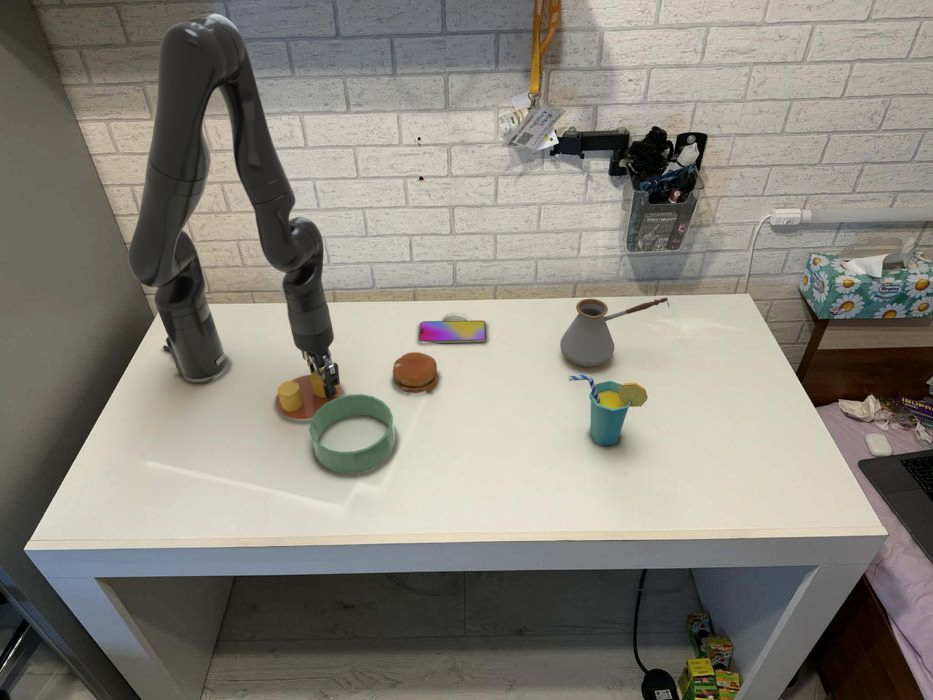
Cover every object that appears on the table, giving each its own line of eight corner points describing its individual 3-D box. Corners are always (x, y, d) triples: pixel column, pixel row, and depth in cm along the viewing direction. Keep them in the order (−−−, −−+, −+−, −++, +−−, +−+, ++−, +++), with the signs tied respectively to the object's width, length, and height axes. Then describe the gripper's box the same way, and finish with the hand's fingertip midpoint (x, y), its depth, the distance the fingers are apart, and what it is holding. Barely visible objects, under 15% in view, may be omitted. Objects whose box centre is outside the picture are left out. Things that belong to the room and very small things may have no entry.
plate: (264, 415, 130) (263, 412, 129) (295, 373, 139) (294, 370, 139) (324, 428, 127) (323, 424, 126) (351, 383, 136) (351, 380, 136)
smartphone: (486, 340, 145) (418, 341, 145) (486, 342, 146) (418, 343, 146) (485, 320, 151) (420, 321, 151) (485, 322, 151) (420, 323, 152)
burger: (444, 389, 134) (443, 372, 132) (400, 400, 132) (398, 383, 129) (430, 360, 142) (429, 343, 139) (388, 370, 140) (386, 353, 137)
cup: (562, 448, 122) (569, 389, 112) (562, 418, 127) (568, 359, 118) (639, 453, 120) (652, 394, 111) (635, 422, 126) (647, 364, 117)
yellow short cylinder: (309, 395, 132) (306, 380, 130) (319, 380, 136) (316, 366, 133) (330, 399, 131) (327, 384, 129) (340, 384, 135) (337, 369, 132)
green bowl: (301, 466, 119) (294, 444, 116) (335, 410, 130) (331, 388, 127) (377, 483, 116) (374, 461, 112) (406, 424, 127) (404, 401, 123)
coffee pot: (562, 373, 138) (567, 316, 128) (556, 339, 146) (561, 283, 137) (664, 372, 137) (677, 315, 128) (652, 338, 146) (664, 282, 136)
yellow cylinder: (278, 409, 130) (273, 393, 127) (288, 395, 133) (283, 379, 130) (297, 413, 129) (293, 397, 126) (306, 399, 132) (303, 382, 129)
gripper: (276, 310, 125) (293, 376, 136) (308, 348, 116) (323, 415, 127) (312, 296, 129) (326, 362, 139) (345, 333, 120) (357, 399, 130)
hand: (324, 387), depth 133 cm, fingers open, 5 cm apart
